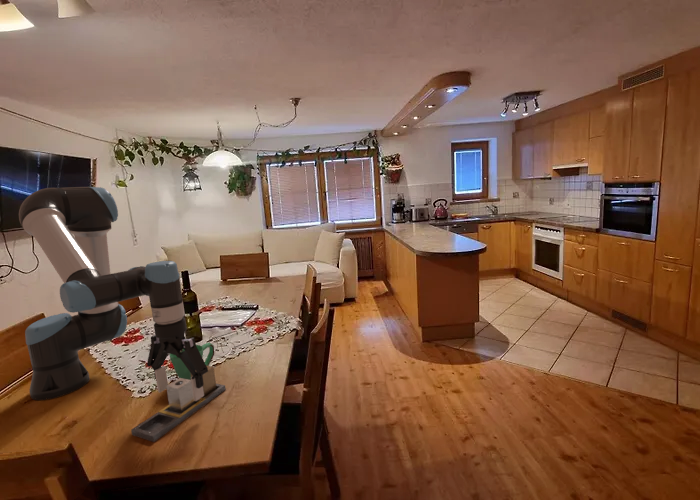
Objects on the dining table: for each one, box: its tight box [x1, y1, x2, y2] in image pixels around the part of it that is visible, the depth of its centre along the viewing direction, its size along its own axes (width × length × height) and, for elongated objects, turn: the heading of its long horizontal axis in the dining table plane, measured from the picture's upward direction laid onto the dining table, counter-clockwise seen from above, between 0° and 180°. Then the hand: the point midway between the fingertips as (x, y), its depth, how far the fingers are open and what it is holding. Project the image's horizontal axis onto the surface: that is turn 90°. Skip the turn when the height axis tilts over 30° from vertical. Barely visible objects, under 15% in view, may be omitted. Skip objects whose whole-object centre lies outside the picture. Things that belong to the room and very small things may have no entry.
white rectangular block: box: [166, 377, 195, 414], centre depth 97 cm, size 4×4×8 cm
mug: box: [169, 342, 215, 380], centre depth 116 cm, size 15×10×10 cm
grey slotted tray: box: [130, 383, 227, 443], centre depth 97 cm, size 8×24×2 cm, turn 156°
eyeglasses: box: [208, 330, 264, 354], centre depth 141 cm, size 16×15×5 cm
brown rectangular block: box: [190, 365, 217, 397], centre depth 104 cm, size 4×4×8 cm
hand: (180, 394), depth 97 cm, fingers open, 13 cm apart
